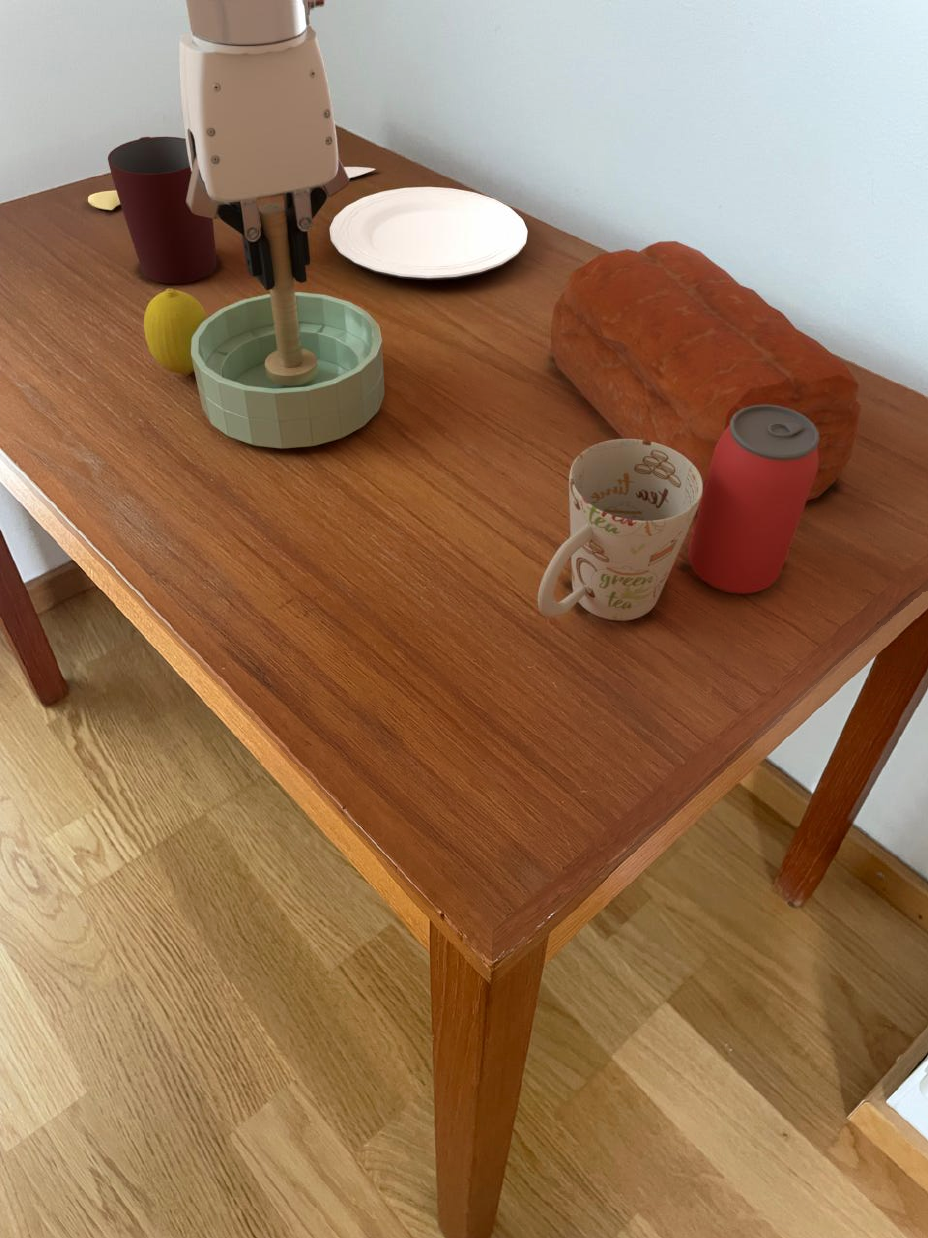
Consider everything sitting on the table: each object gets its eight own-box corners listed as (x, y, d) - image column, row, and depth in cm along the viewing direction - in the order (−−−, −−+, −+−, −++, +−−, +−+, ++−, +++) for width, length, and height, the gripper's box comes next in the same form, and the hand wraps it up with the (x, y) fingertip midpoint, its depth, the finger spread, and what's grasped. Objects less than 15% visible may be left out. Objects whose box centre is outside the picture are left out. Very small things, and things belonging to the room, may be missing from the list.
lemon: (213, 392, 83) (196, 307, 77) (148, 391, 83) (127, 305, 77) (224, 358, 87) (209, 274, 81) (163, 356, 87) (143, 272, 81)
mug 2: (698, 589, 68) (729, 477, 61) (588, 689, 62) (608, 578, 54) (603, 534, 72) (622, 422, 64) (491, 623, 65) (497, 510, 58)
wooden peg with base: (276, 390, 80) (253, 225, 70) (259, 364, 83) (234, 201, 73) (325, 378, 82) (310, 214, 72) (307, 352, 84) (289, 191, 74)
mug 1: (121, 242, 102) (94, 132, 94) (205, 228, 104) (185, 119, 96) (144, 295, 94) (117, 180, 86) (233, 278, 97) (215, 165, 89)
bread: (675, 323, 93) (697, 214, 85) (860, 486, 76) (908, 369, 68) (531, 356, 88) (541, 244, 80) (695, 538, 72) (726, 419, 64)
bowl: (237, 476, 75) (225, 411, 71) (182, 378, 85) (168, 315, 80) (413, 426, 80) (412, 363, 76) (343, 338, 90) (338, 277, 85)
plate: (302, 277, 97) (300, 259, 96) (365, 192, 111) (364, 175, 110) (504, 306, 94) (505, 288, 93) (543, 215, 108) (544, 198, 107)
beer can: (796, 588, 68) (849, 451, 59) (711, 606, 67) (753, 468, 58) (751, 528, 72) (794, 392, 64) (671, 544, 71) (704, 407, 62)
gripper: (339, -16, 68) (355, 239, 81) (110, 10, 62) (168, 278, 76) (382, 14, 63) (391, 279, 77) (140, 44, 58) (195, 322, 71)
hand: (280, 276), depth 76 cm, fingers closed on wooden peg with base, 2 cm apart
